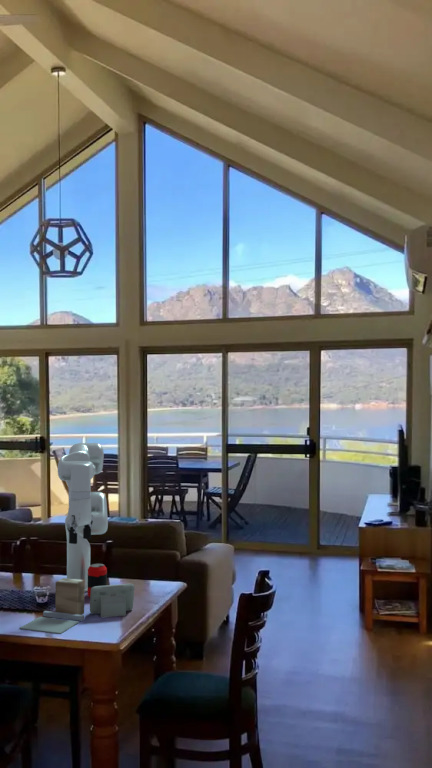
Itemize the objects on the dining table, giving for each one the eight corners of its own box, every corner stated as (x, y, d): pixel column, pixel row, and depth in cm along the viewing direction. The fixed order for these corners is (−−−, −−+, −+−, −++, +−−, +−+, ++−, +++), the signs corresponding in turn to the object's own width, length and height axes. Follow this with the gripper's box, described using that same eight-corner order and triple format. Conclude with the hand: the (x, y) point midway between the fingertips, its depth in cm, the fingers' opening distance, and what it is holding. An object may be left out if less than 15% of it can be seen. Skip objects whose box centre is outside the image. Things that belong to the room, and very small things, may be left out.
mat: (39, 617, 233) (39, 616, 233) (79, 622, 228) (79, 621, 228) (19, 628, 222) (19, 627, 222) (60, 634, 217) (60, 632, 217)
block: (62, 611, 241) (63, 577, 241) (84, 613, 238) (84, 579, 239) (55, 615, 236) (55, 581, 237) (77, 617, 233) (77, 583, 234)
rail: (45, 614, 236) (45, 610, 236) (84, 619, 231) (84, 615, 231) (43, 616, 235) (43, 612, 235) (82, 620, 230) (82, 616, 230)
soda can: (96, 599, 255) (96, 568, 256) (83, 596, 260) (83, 565, 260) (110, 595, 261) (110, 564, 262) (97, 591, 266) (97, 562, 266)
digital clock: (134, 609, 243) (134, 580, 244) (133, 617, 234) (133, 587, 235) (90, 610, 242) (91, 581, 242) (88, 618, 233) (88, 588, 233)
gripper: (84, 492, 257) (83, 536, 256) (59, 498, 240) (58, 544, 240) (100, 493, 254) (100, 537, 253) (76, 499, 238) (76, 546, 237)
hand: (80, 541), depth 246 cm, fingers open, 9 cm apart
